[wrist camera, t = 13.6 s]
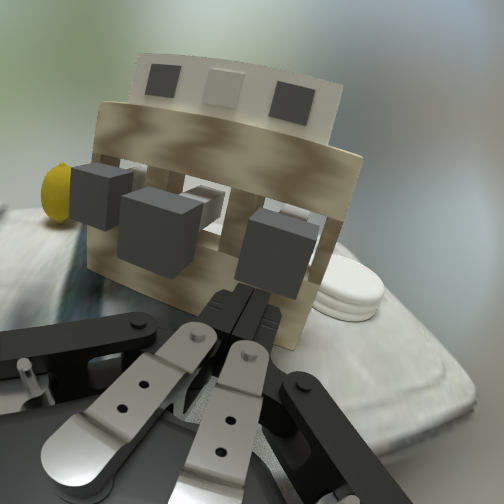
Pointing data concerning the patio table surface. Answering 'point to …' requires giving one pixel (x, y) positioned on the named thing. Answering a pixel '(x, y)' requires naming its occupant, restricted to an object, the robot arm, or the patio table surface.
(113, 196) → the button left
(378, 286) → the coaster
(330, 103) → the card
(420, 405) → the patio table surface
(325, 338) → the patio table surface
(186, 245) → the button mid
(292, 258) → the button right
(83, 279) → the patio table surface
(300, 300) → the board
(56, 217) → the lemon
